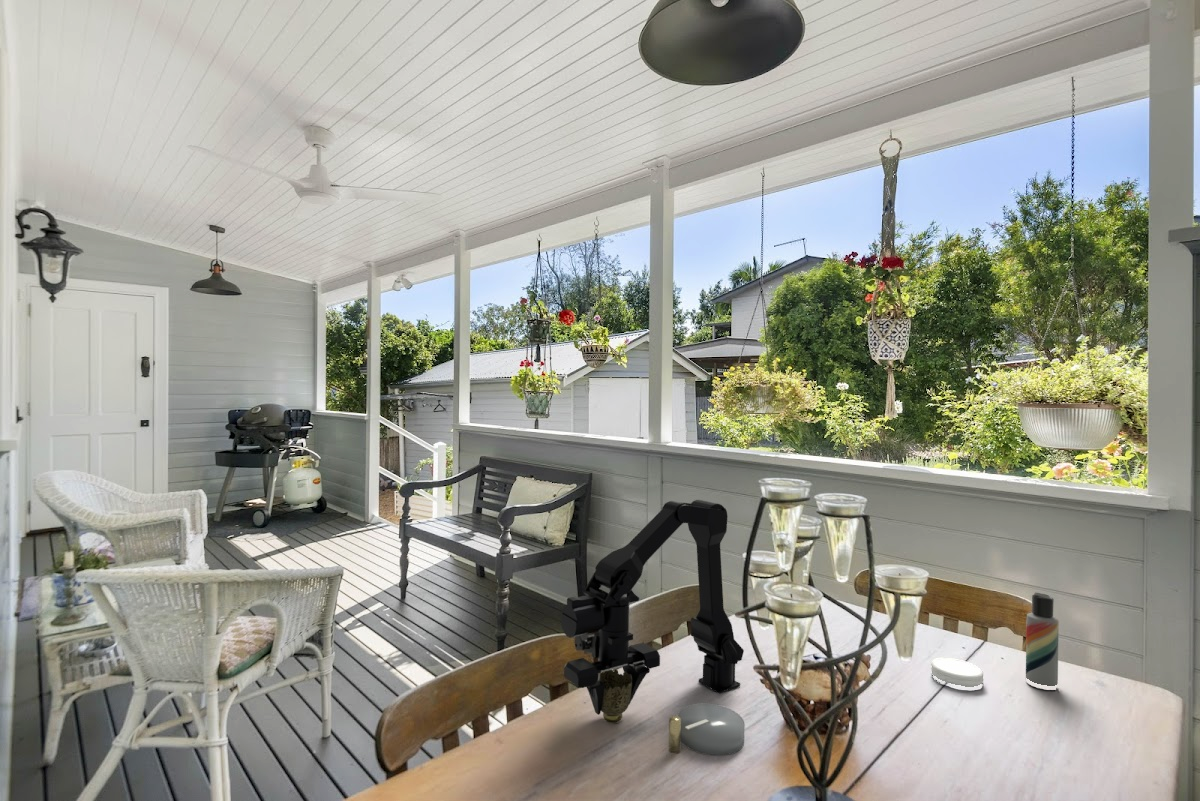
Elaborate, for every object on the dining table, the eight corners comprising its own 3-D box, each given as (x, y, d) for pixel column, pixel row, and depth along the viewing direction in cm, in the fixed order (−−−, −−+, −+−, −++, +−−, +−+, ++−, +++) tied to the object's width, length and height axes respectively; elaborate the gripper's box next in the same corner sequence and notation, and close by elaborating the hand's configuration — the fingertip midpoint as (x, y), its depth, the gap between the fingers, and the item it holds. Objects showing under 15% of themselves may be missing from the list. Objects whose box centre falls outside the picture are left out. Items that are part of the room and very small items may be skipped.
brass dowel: (675, 745, 106) (675, 714, 106) (682, 751, 104) (683, 719, 104) (666, 749, 105) (666, 717, 105) (673, 755, 103) (674, 722, 103)
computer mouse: (711, 713, 117) (711, 696, 117) (758, 742, 107) (758, 724, 107) (663, 730, 111) (663, 713, 111) (709, 763, 101) (709, 744, 101)
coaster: (928, 683, 132) (928, 667, 132) (933, 668, 141) (933, 653, 141) (982, 697, 127) (982, 680, 127) (984, 680, 135) (984, 664, 135)
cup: (586, 723, 113) (586, 680, 113) (604, 705, 119) (604, 665, 119) (621, 734, 109) (622, 690, 109) (638, 715, 116) (638, 673, 116)
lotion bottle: (1025, 677, 136) (1027, 588, 136) (1057, 684, 133) (1058, 593, 133) (1025, 686, 132) (1026, 594, 132) (1058, 694, 128) (1059, 600, 128)
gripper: (628, 605, 126) (627, 680, 126) (550, 622, 116) (548, 703, 116) (662, 622, 117) (661, 703, 117) (580, 642, 107) (579, 730, 107)
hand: (612, 708), depth 114 cm, fingers closed on cup, 6 cm apart
